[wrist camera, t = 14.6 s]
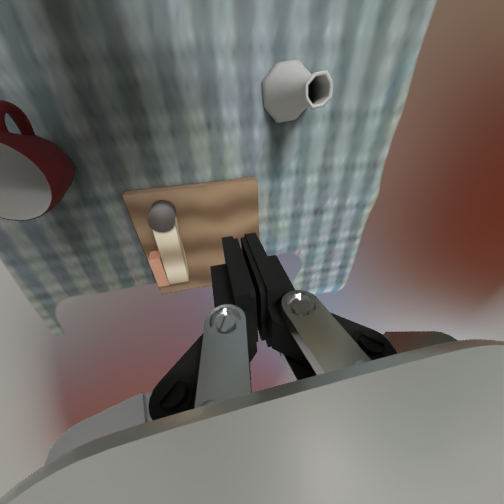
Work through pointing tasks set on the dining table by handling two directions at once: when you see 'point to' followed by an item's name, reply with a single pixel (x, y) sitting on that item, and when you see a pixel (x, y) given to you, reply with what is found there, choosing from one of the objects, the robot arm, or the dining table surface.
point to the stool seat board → (199, 221)
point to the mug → (29, 169)
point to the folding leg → (169, 240)
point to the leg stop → (158, 268)
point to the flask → (294, 90)
